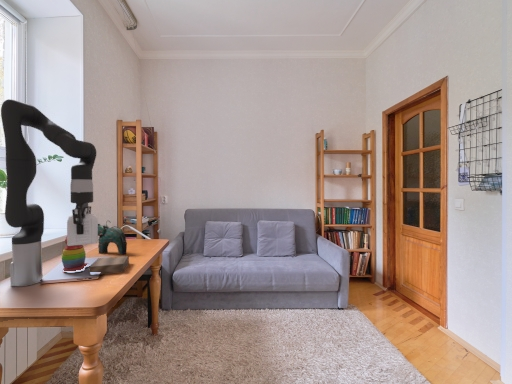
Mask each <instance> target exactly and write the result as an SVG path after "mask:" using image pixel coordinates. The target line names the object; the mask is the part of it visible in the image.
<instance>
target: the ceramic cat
mask: <svg viewBox="0 0 512 384" xmlns="http://www.w3.org/2000/svg"><path fill="white" fill-rule="evenodd" d="M108 222H109V223H110V224H111V221H110V220H106V223H105V224H101V223H98V254H101V255H102V254H107V253H108V252H109V250H108V247H109V245H110V243H112V244H114V245H116V247H117V251H118V255H119V256H125V255H127V250H128V247H127V246H128V243H127V237H126V234H125V232H124V231H123V230H122V228H120V227H119V226H112V227H110V226H108V224H107V223H108Z"/></svg>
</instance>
